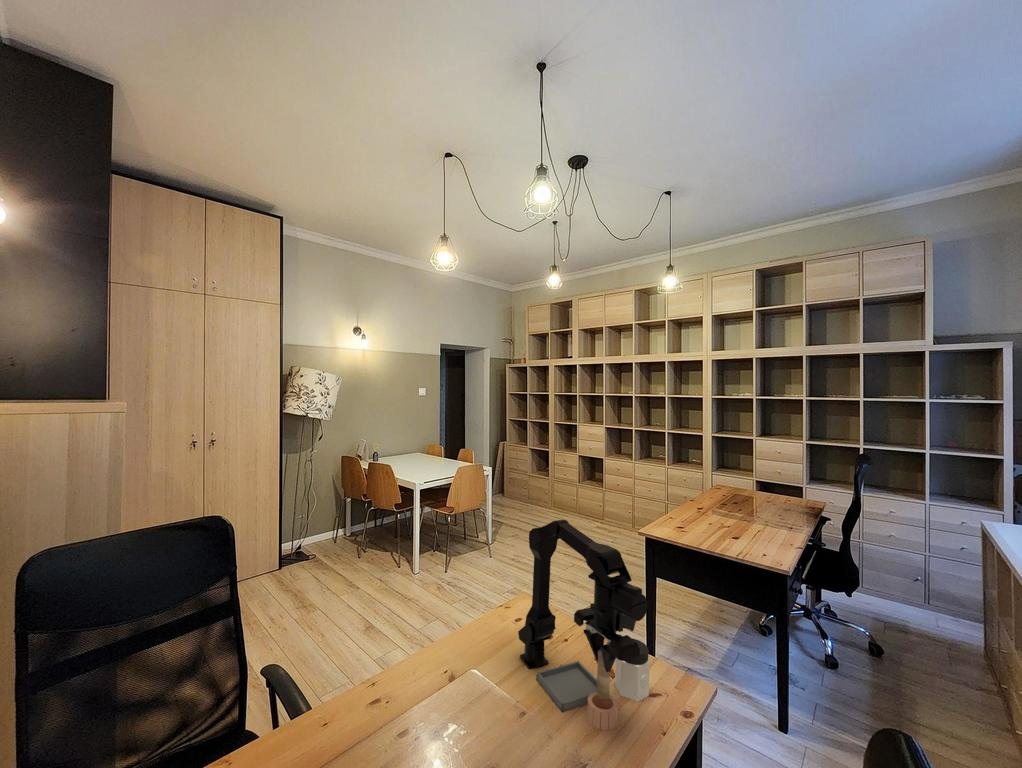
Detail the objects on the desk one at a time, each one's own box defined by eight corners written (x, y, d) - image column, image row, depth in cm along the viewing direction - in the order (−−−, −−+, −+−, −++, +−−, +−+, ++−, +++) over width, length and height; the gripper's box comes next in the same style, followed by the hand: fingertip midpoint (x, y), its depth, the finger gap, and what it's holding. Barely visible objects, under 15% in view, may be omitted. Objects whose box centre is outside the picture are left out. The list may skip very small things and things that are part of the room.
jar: (632, 707, 104) (633, 659, 105) (608, 688, 111) (609, 642, 112) (654, 695, 109) (655, 649, 110) (630, 677, 116) (631, 634, 117)
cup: (581, 715, 101) (582, 696, 101) (604, 707, 104) (604, 689, 104) (599, 736, 94) (600, 716, 95) (623, 727, 97) (623, 707, 98)
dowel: (594, 692, 100) (595, 650, 101) (603, 689, 101) (605, 647, 102) (601, 700, 97) (603, 657, 98) (611, 697, 99) (613, 654, 99)
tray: (536, 681, 112) (536, 672, 112) (578, 669, 118) (578, 660, 118) (561, 714, 101) (562, 704, 101) (607, 699, 107) (607, 689, 107)
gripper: (658, 614, 96) (657, 683, 95) (607, 582, 113) (605, 640, 112) (621, 623, 91) (619, 695, 90) (573, 588, 108) (571, 649, 107)
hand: (603, 667), depth 100 cm, fingers closed on dowel, 3 cm apart
